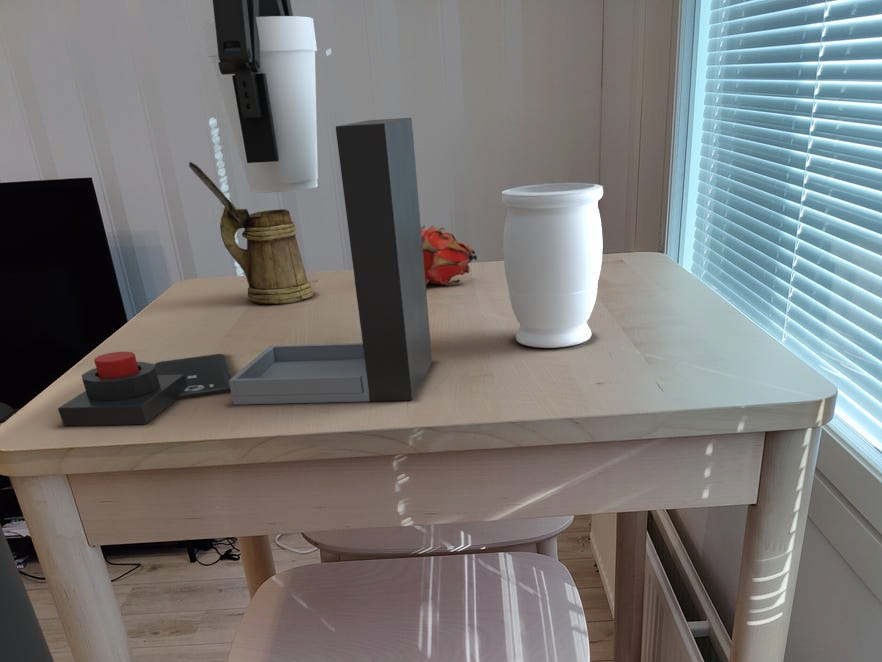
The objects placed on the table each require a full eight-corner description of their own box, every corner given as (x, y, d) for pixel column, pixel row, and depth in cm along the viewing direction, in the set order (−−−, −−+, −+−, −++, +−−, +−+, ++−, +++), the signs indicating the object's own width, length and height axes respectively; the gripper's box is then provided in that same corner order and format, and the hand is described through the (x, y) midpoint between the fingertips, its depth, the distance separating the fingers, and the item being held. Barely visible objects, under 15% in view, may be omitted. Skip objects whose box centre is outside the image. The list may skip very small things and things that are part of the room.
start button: (92, 381, 79) (86, 362, 78) (110, 370, 82) (105, 351, 82) (129, 380, 79) (123, 361, 78) (145, 369, 82) (141, 350, 81)
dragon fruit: (395, 295, 129) (473, 305, 128) (383, 267, 121) (467, 279, 120) (405, 240, 129) (483, 250, 128) (394, 209, 121) (478, 220, 120)
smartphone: (156, 407, 84) (154, 398, 83) (156, 369, 96) (154, 361, 95) (235, 395, 85) (233, 387, 85) (225, 359, 98) (223, 352, 97)
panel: (63, 426, 79) (50, 388, 77) (113, 393, 87) (103, 358, 85) (146, 424, 78) (135, 385, 76) (188, 391, 86) (180, 355, 84)
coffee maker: (233, 404, 81) (176, 136, 69) (273, 367, 92) (230, 128, 80) (412, 400, 79) (384, 123, 67) (432, 362, 90) (411, 117, 78)
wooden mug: (214, 301, 125) (185, 160, 116) (306, 289, 129) (285, 151, 119) (222, 312, 118) (190, 163, 108) (318, 299, 122) (297, 154, 112)
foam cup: (345, 187, 80) (324, 14, 73) (246, 197, 77) (214, 18, 70) (317, 181, 87) (296, 24, 80) (226, 190, 84) (195, 27, 77)
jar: (529, 325, 101) (526, 182, 93) (613, 330, 97) (617, 180, 89) (490, 348, 93) (483, 194, 85) (580, 354, 89) (581, 193, 81)
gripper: (229, -131, 78) (274, 152, 90) (124, -197, 60) (198, 169, 72) (310, -138, 77) (344, 148, 89) (228, -208, 59) (285, 165, 71)
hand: (279, 157), depth 81 cm, fingers closed on foam cup, 9 cm apart
